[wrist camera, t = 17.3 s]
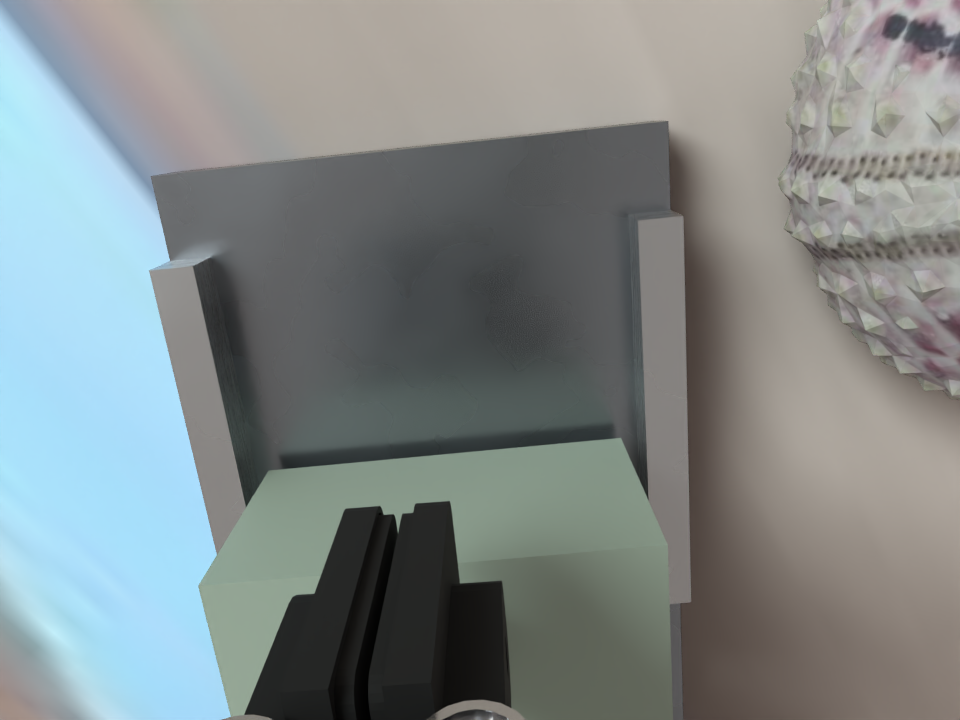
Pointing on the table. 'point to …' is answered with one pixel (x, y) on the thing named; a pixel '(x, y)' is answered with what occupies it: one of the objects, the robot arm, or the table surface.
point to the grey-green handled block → (479, 568)
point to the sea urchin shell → (883, 177)
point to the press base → (433, 313)
